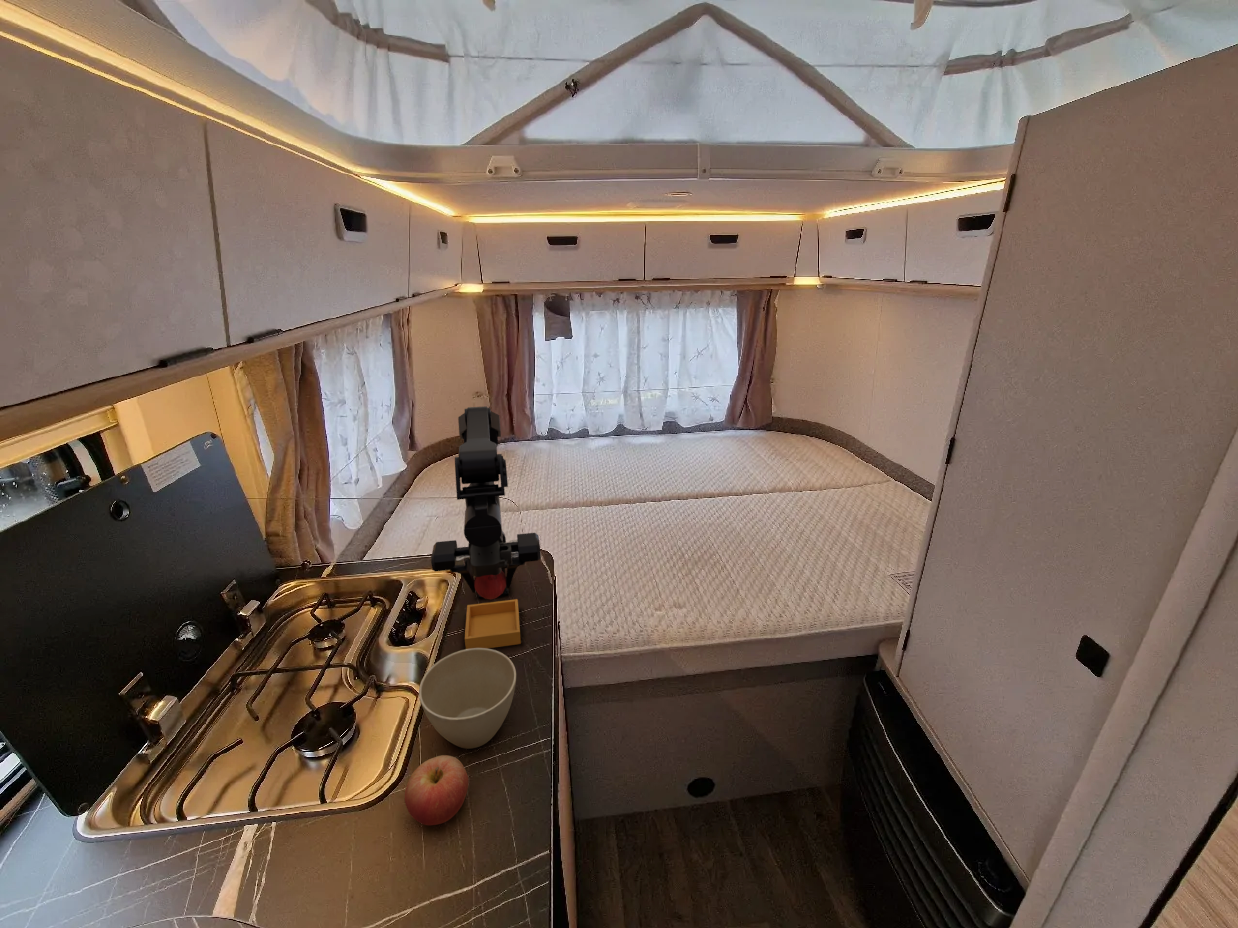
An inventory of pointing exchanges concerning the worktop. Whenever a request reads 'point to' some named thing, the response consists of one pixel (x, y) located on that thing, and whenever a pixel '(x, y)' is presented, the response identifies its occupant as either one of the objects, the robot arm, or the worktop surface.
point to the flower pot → (468, 695)
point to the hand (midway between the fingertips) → (491, 589)
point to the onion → (490, 585)
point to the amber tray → (492, 624)
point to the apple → (436, 790)
